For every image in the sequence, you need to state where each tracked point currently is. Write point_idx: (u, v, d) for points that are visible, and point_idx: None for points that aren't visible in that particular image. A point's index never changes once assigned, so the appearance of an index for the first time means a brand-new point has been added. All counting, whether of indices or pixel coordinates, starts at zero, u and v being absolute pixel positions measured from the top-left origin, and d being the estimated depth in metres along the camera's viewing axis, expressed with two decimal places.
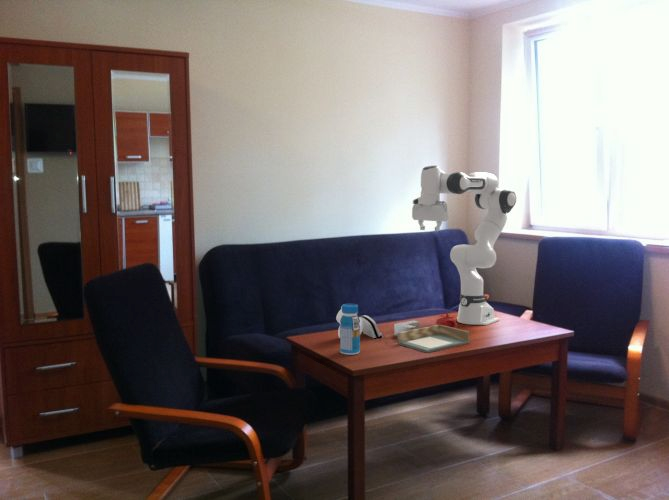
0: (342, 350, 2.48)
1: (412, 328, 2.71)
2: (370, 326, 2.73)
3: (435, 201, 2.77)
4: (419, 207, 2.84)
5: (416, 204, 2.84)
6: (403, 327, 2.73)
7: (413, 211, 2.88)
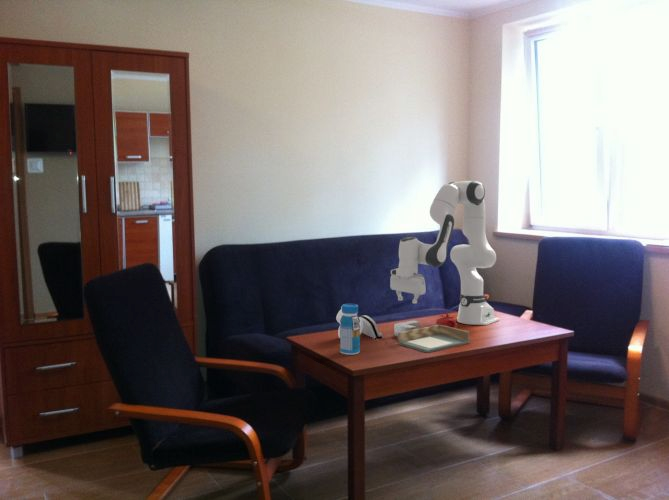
0: (342, 350, 2.48)
1: (412, 328, 2.71)
2: (370, 326, 2.73)
3: (413, 273, 2.74)
4: (397, 278, 2.80)
5: (394, 275, 2.81)
6: (403, 327, 2.73)
7: (391, 281, 2.84)
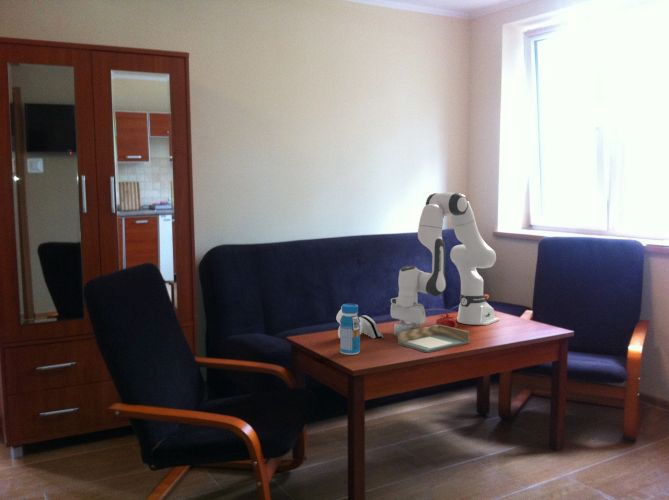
0: (342, 350, 2.48)
1: (412, 328, 2.71)
2: (370, 326, 2.72)
3: (413, 303, 2.75)
4: (397, 306, 2.82)
5: (394, 303, 2.82)
6: (403, 327, 2.73)
7: (391, 309, 2.86)
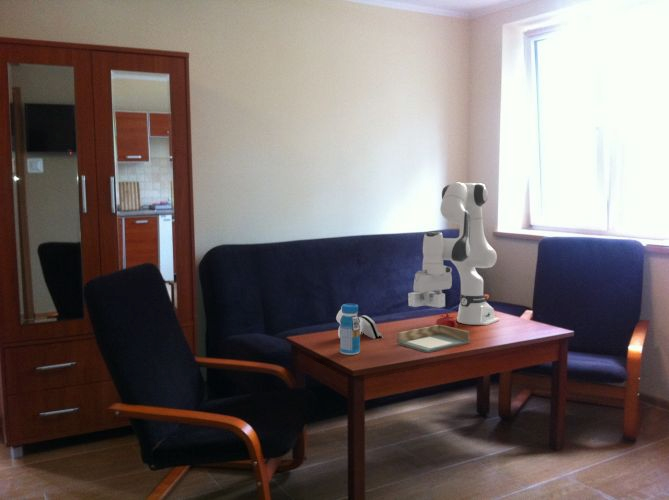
0: (342, 350, 2.48)
1: (411, 294, 2.59)
2: (369, 326, 2.72)
3: (424, 270, 2.57)
4: None
5: None
6: None
7: None
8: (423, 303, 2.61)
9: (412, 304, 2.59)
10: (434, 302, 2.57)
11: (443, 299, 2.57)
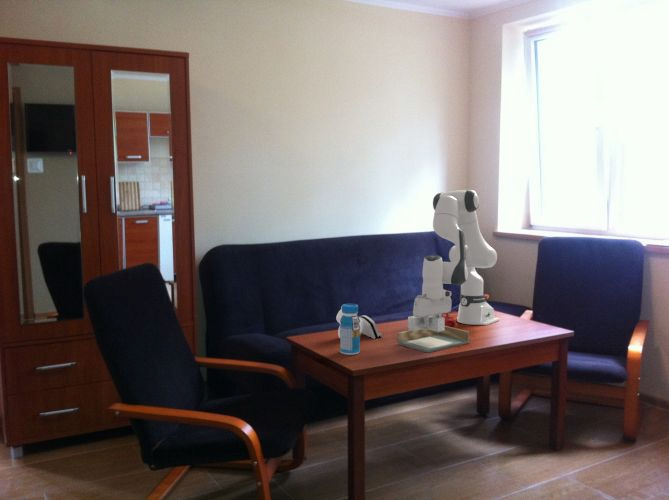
0: (342, 350, 2.48)
1: (410, 318, 2.60)
2: (369, 326, 2.72)
3: (423, 294, 2.58)
4: None
5: None
6: None
7: None
8: (423, 327, 2.62)
9: (412, 328, 2.60)
10: (433, 326, 2.58)
11: (443, 323, 2.58)
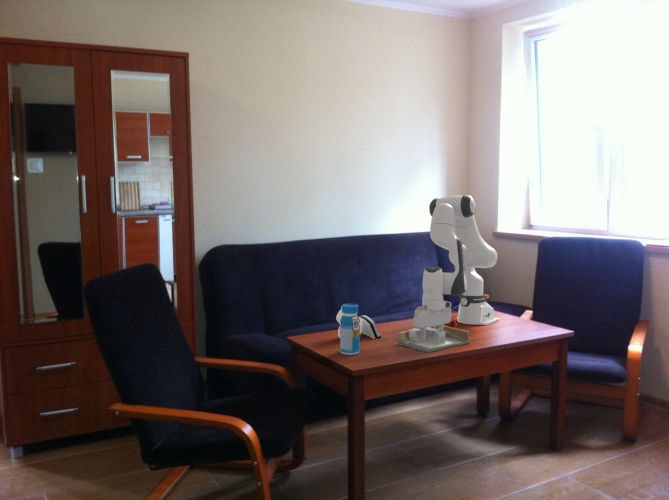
0: (342, 350, 2.48)
1: (411, 331, 2.61)
2: (369, 326, 2.72)
3: (424, 305, 2.59)
4: None
5: None
6: None
7: None
8: (423, 340, 2.62)
9: (412, 341, 2.61)
10: (434, 340, 2.58)
11: (443, 337, 2.58)
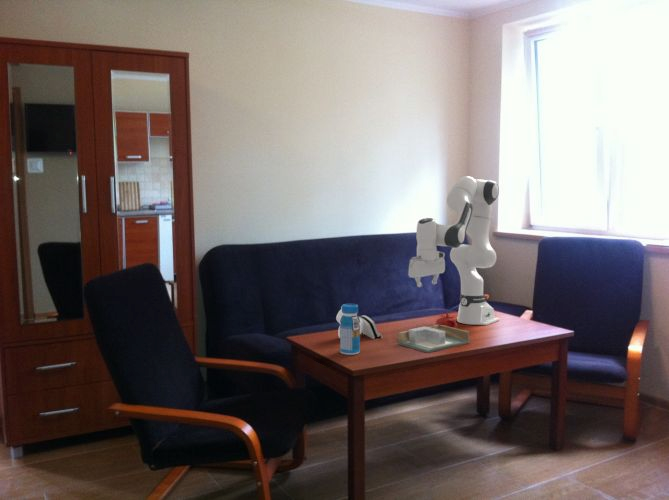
0: (342, 350, 2.48)
1: (411, 331, 2.61)
2: (369, 326, 2.72)
3: (418, 256, 2.68)
4: None
5: None
6: None
7: None
8: (423, 340, 2.62)
9: (412, 341, 2.61)
10: (434, 340, 2.58)
11: (443, 337, 2.58)
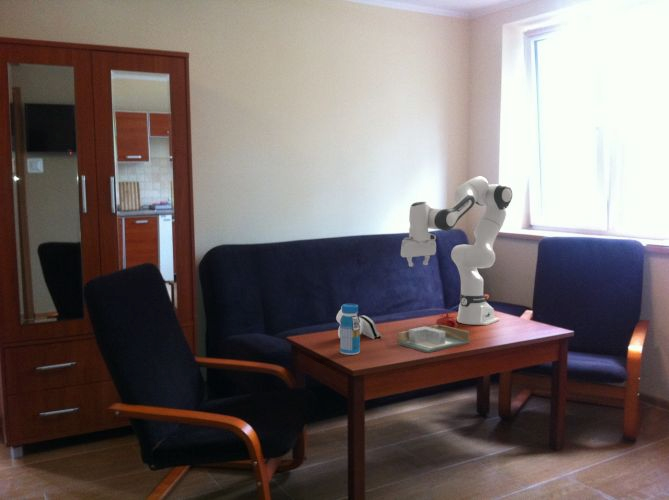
0: (342, 350, 2.48)
1: (411, 331, 2.61)
2: (369, 326, 2.72)
3: None
4: None
5: None
6: None
7: None
8: (423, 340, 2.62)
9: (412, 341, 2.61)
10: (434, 340, 2.58)
11: (443, 337, 2.58)
